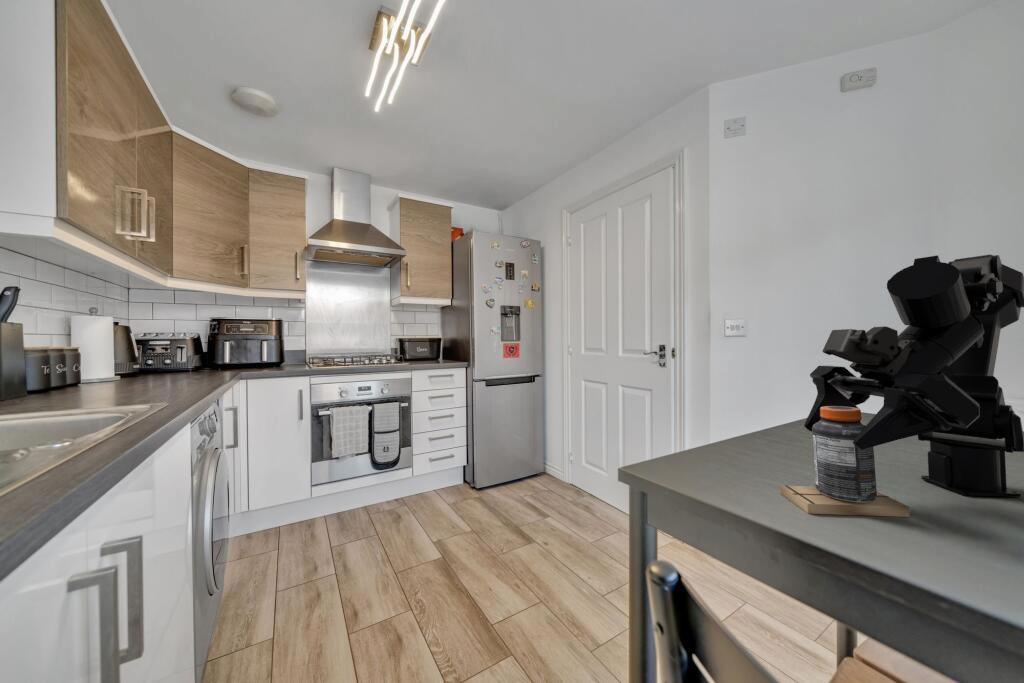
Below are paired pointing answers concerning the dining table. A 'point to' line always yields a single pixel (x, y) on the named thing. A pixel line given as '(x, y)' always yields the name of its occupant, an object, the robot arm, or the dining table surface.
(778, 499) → the dining table surface
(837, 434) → the pill bottle
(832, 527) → the dining table surface
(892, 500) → the oak board
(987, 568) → the dining table surface
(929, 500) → the dining table surface
